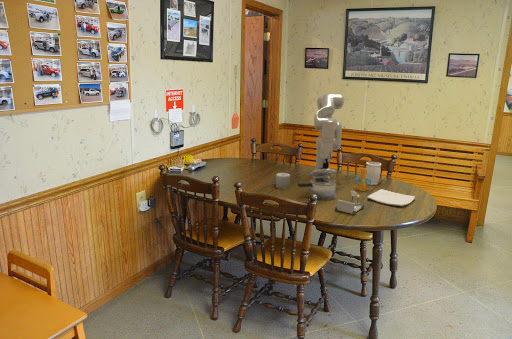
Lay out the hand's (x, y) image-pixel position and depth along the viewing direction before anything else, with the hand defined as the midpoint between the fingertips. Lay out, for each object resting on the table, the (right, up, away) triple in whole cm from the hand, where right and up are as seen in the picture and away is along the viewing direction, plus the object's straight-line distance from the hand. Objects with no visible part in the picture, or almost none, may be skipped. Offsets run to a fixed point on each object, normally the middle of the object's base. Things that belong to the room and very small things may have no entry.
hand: (325, 169), depth 253 cm
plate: (+41, -20, +3) cm, 46 cm away
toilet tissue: (-26, -12, +25) cm, 38 cm away
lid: (-1, -3, +4) cm, 5 cm away
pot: (-5, -17, +6) cm, 19 cm away
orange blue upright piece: (+28, -14, +22) cm, 39 cm away
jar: (+40, -10, +38) cm, 56 cm away
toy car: (+12, -24, -16) cm, 31 cm away
